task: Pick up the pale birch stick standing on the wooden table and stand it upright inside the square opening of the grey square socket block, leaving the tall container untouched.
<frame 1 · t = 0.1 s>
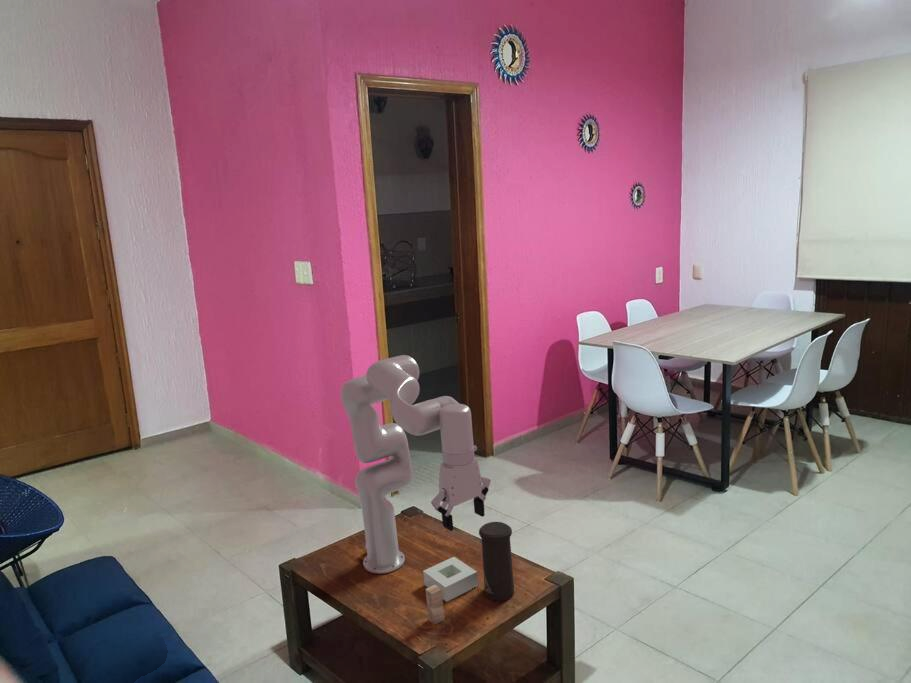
hand: (464, 521, 166), 31 cm above the table, tool pointing down, fingers open, 9 cm apart
container: (499, 593, 190), on the table
birch stick: (436, 619, 180), on the table
grey square socket block: (451, 585, 195), on the table
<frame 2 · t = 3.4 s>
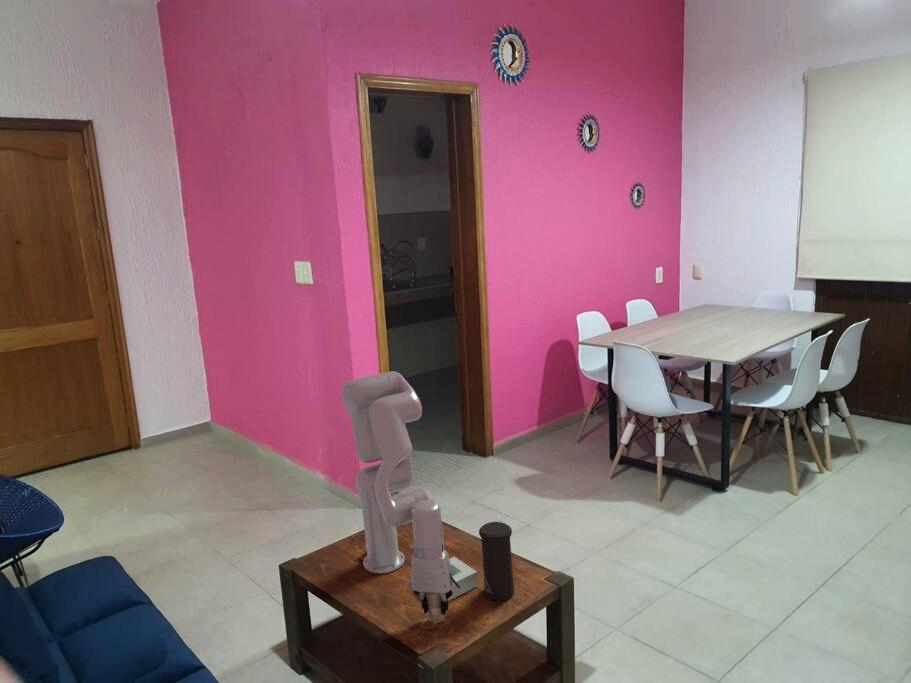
hand: (435, 610, 179), 3 cm above the table, tool pointing down, fingers closed on birch stick, 4 cm apart
birch stick: (436, 619, 180), on the table, touching gripper
everything else where it was.
when the fingers open (5 cm above the table, at t = 8.7 s): birch stick drops 1 cm, resting on grey square socket block.
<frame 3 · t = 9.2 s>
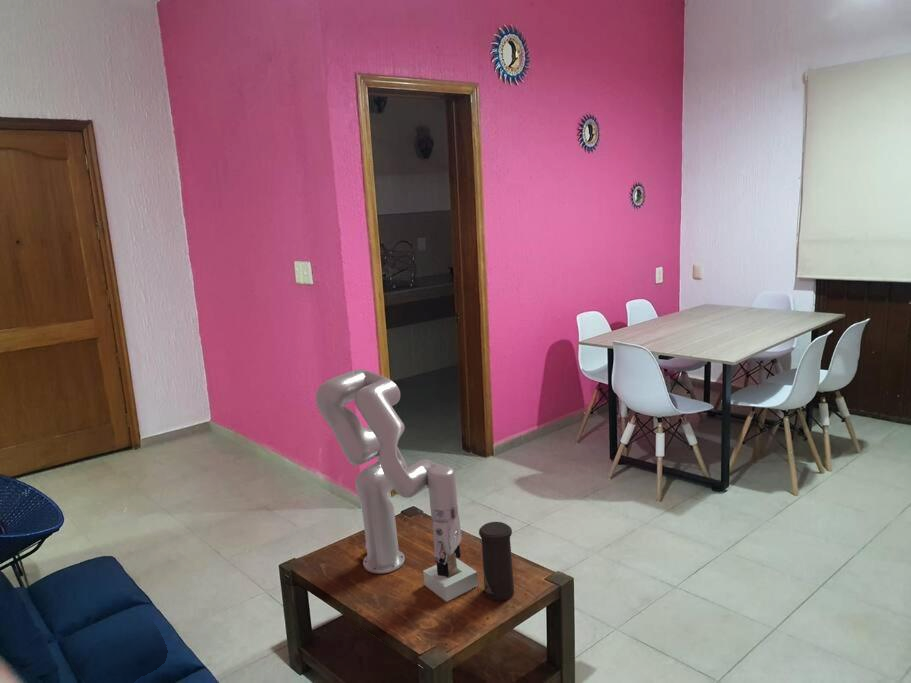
hand: (449, 566, 193), 6 cm above the table, tool pointing down, fingers open, 9 cm apart
birch stick: (450, 581, 194), point 1 cm above the table, touching grey square socket block
everything else where it was.
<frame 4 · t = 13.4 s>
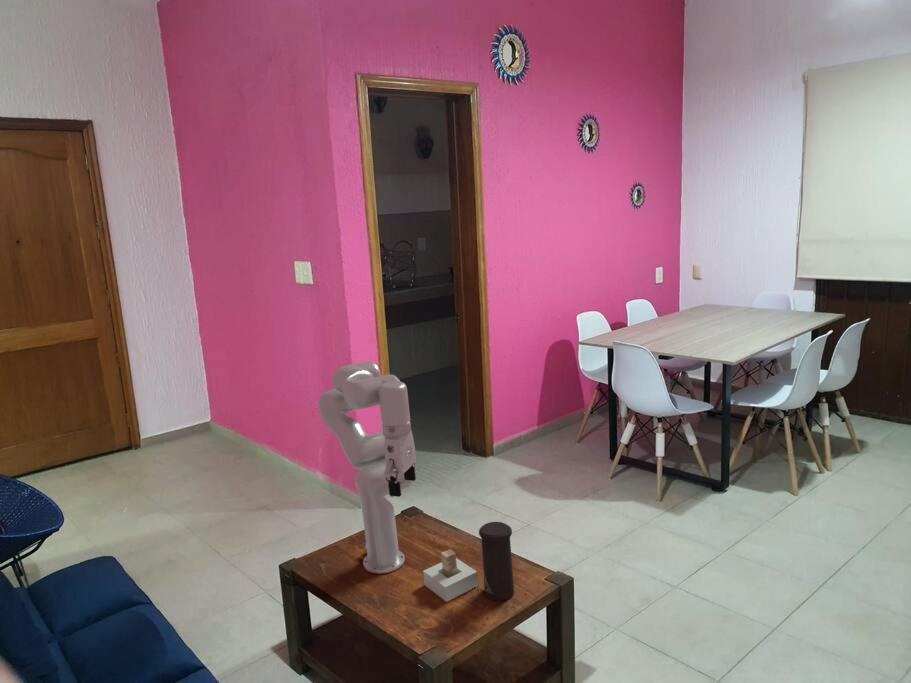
hand: (403, 487, 185), 32 cm above the table, tool pointing down, fingers open, 9 cm apart
nothing on the table moved.
at the end: birch stick 0.1 cm off-centre on the grey square socket block, point 1.2 cm above the grey square socket block's base; birch stick tilted 0°; the gripper is holding nothing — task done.
